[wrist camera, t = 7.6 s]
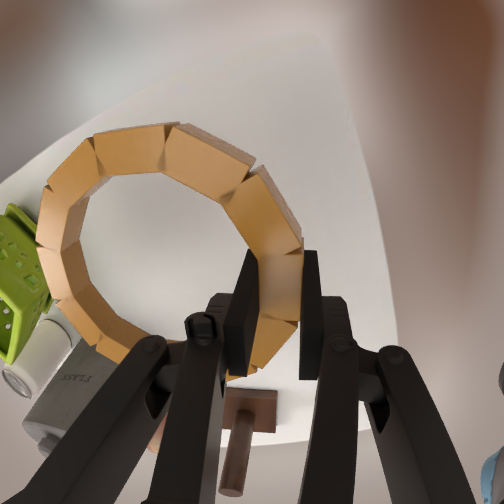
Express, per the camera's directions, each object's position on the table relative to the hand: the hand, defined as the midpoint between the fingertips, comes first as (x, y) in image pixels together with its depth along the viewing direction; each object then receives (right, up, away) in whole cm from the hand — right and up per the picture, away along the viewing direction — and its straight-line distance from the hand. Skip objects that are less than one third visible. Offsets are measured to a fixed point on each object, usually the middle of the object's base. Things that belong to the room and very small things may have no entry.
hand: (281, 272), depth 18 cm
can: (-33, -12, +26) cm, 43 cm away
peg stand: (-3, -22, +26) cm, 34 cm away
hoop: (-7, 0, +1) cm, 7 cm away
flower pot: (-31, +1, +20) cm, 37 cm away
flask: (-21, -12, +24) cm, 34 cm away
